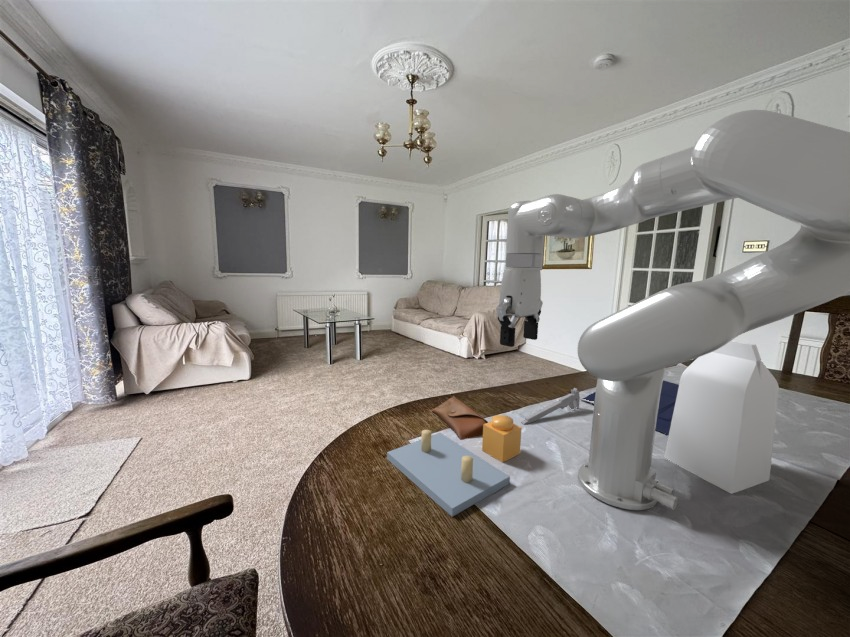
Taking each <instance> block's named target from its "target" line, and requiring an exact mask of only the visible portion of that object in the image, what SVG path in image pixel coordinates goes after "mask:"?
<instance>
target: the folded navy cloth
mask: <svg viewBox="0 0 850 637" xmlns="http://www.w3.org/2000/svg"><path fill="white" fill-rule="evenodd" d="M678 388H679V384H677V383H674V382H672V381H667V380H665V379H663V383H662V388H661V394H660V401H659V408H658V413H657V421H656V429H655V431H658V432H661V433H662V434H665V435H667V436H669V431H670V426H671V422H672V417H673V412H674V407H675V402H676V398H677V393H678ZM595 393H596V391H594V392H593V393H591V394H588V395H587V396H585V397H583V398H582V399H586V400H589V401H595Z"/></svg>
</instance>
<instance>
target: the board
mask: <svg viewBox="0 0 850 637" xmlns="http://www.w3.org/2000/svg"><path fill="white" fill-rule="evenodd" d="M386 459H387V460H388V461H389V462H390V463H391V464H392V466H395V468H396V469H398V470H399V471H400V472H401V473H402V474H403V475H404V476H405V477H407V478H408V479H409V480H410V481H411V482H413V483H414V485H416V486H417V487H418V488H419V490H421V491H423V492H424V493H425V494H426V495H427V496H428V497H429V498H430V499H432V500H433V501H434V502H435V503H436V504H437V506H439V507H440V508H441V509H442V510H444V511H445V512H446V513H447V514H448V515H449V516H450V517H454V516H456V515H458V514H460V513H461V512H464V510H466V509H469V508H470V507H471V506H473V505H476V504H477V503H479V502H480V501H482V500H484V499H486V498H487V497H490V496H491V495H493V494H494V493H496V492H498V491H500V490H502V489H503V488H505V487H506V486H508V485H509V484H510V482H511V481H510V479H511V478H510V477H511V476H510V475H508V474H507V473H505V472H503V471H502V470H500V468H497V467H496V466H494V465H493V464H491V463H489V462H488V461H486V460H485V459H484V458H482V457H480V456H478V455H477V454H475V453H473V452H472V451H470V450H469V449H467V448H466V447H463V445H460V444H459V443H458V442H456V441H454V440H453V439H451V438H450V437H448V436H446V435H444V434H443V433H441V432H438V433H435V434H433V435H432V430H430V429H423V430H421V439H419V440H416V441H414V442H411V443H409V444H405V445H403V446H401V447H398V448H395V449H392V450H390V451H387V452H386Z"/></svg>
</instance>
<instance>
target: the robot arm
mask: <svg viewBox="0 0 850 637" xmlns="http://www.w3.org/2000/svg"><path fill="white" fill-rule="evenodd" d="M734 199H740V200H742V201H745V202H747V203H750V204H752V205H754V206H756V207H759V208H761V209H763V210H766V211H768V212H770V213H773V214H775V215H777V216H780V217H782V218H785V219H786V220H789V221H791V222H794V223H796V224H798V225H800V228H799V230H798V231H797V233H796V234H794V235H793V236H792V237H791V238H790V239H789V240H787V241H785V242H784V243H781V244H780V245H777V246H776V247H774V248H772V249H770V250H767V251H764V252H763V253H760V254H758V255H755V256H754V257H751V258H750V259H747V260H746V261H744V262H743V263H740V264H739V265H736V266H734V267H731V268H729V269H727V270H724V271H723V272H720V273H718V274H716V275H712V276H711V277H708V278H705V279H702V280H698V281H696V280H695V281H691V282H685V283H684V282H682V283H680V284H679V283H678V284H675V285H672V286H669V287H667V288H665V289H662V290H660V291H657V292H655V293H654V294H653V293H652V294H651V295H649V296H647V297H645V298H643V299H641V300H639V301H637V302H635V303H632V304H630V305H628V306H626V307H624V308H622V309H620V310H618V311H616V312H614V313H612V314H610V315H607V316H606V317H603V318H601V319H599V320H598V321H595V322H593V323H592V324H591V325H589V326H587V328H586V329H585V330H584V331H583V332H582V333H581V336H580V337H579V339H578V342H577V357H578V360H579V363H580V364H581V366H582V367H583V369H584V370H585V371H586V372H588V374H590V375H591V376H593V377H595V378H597V382H596V386H595V392H596V393H595V401H594V405H593V410H592V411H593V412H592V423H591V424H592V425H591V433H590V444H589V452H588V453H589V454H588V455H589V456H588V462H586V463H583V464H582V465H581V466H580V467H579V468H578V474H577V479H578V482H579V483H580V485H581V486H582V488H583V490H585V491H586V492H587V493H589V494H590V495H591V496H593V497H594V498H596V499H597V500H599V501H601V502H603V503H605V504H608V505H610V506H613V507H616V508H620V509H625V510H631V511H643V510H648V509H651V508H653V507H654V506H655V505H656V504H657V503H660V504H661V505H663V506H665V507H666V508H668V509H671V510H673V511H674V510H676V507H677V506H678V505H677V504H678V497H677V496H674V492H675V491H674V489H673V488H671V487H670V486H667V485H664V484H661V483H659V481H658V480H656V475H657V474H656V473H657V471H655V470H653V469H651V466H652V459H653V458H652V457H653V451H654V450H653V449H654V442H655V434H656V430H655V429H656V421H657V413H658V408H659V401H660V394H661V388H662V383H663V380H664V378H665V375H666V374H665V373H666V369H667V368H670V367H673V366H677V365H679V364H682V363H686V362H689V361H692V360H696V359H697V358H698V357H700V356H703V355H706V354H708V353H711V352H713V351H715V350H717V349H719V348H721V347H723V346H724V345H726V344H727V343H728V342H730V341H731V340H733V341H734V339H735V338H737V337H739V336H741V335H742V334H745V333H747V332H750V331H753V330H755V329H758V328H761V327H764V326H766V325H769V324H772V323H775V322H778V321H781V320H783V319H786V318H789V317H791V316H793V315H794V316H795V315H796V314H799V313H802V312H805V311H807V310H810V309H813V308H815V307H817V306H820V305H822V304H826V303H828V302H830V301H832V300H835V299H836V298H839V297H842V296H844V295H846V294H848V293H850V131H846V130H843V129H839V128H835V127H831V126H828V125H824V124H820V123H817V122H814V121H810V120H806V119H803V118H799V117H796V116H792V115H788V114H785V113H780V112H777V111H772V110H768V109H748V110H741V111H738V112H735V113H732V114H729V115H727V116H724V117H723V118H721V119H719V120H718V121H715V122H714V123H713V124H711V125H710V126H708V128H707V129H706V130H705V131H704V132H703V133H702V134H700V136H699V137H698V139H697V140H696V141H695V143H694V146H691V147H688V148H685V149H683V150H680V151H676V152H674V153H672V154H667V155H665V156H663V157H659V158H656V159H653V160H650V161H648V162H645V163H642V164H640V165H638V166H637V167H636V168H635V169H634V170H633V171H632V174H631V175H630V177H629V179H628V180H627V181H626V182H625V183H623V184H622V185H621V186H619V187H617V188H615V189H613V190H610V191H608V192H605V193H601V194H599V195H595V196H592V197H589V198H584V199H581V198H577V197H573V196H569V195H565V194H561V193H560V194H559V193H555V194H554V193H553V194H549V195H545V196H542V197H539V198H537V199H533V200H522V201H516V202H513V203H512V204H511V205H510V206H509V207H508V210H507V229H506V230H507V231H506V244H505V246H506V247H505V248H506V249H505V267H504V268H505V269H503V270H504V271H503V274H502V278H501V283H500V284H501V285H500V291H499V300H498V305H497V306H496V309H495V311H496V314H497V320H498V322H499V323H498V326H499V327H500V332H499V345H500V346H506V347H509V348H513V347H514V346H515V344H516V341H515V340H516V327H514V326H515V324H516V322H517V321H518V319H520V318H525V320H524V321H523V336H522V338H524V339H529V340H533V341H536V340H537V339H538V334H539V333H538V332H539V322H540V315H541V313H542V308H543V303H544V302H543V300H541V297H542V294H541V293H542V279H541V278H542V274H541V271H542V270H543V264H544V263H543V259H544V249H545V248H544V247H545V246H544V245H545V236H546V237H553V238H555V237H556V238H566V239H574V240H575V239H582V238H587V237H592V236H596V235H600V234H604V233H605V234H606V233H609V232H614V231H617V230H621V229H624V228H627V227H630V226H634V225H636V224H640V223H644V222H645V221H647V220H650V219H654V218H658V217H662V216H667V215H671V214H675V213H679V212H683V211H687V210H691V209H696V208H700V207H704V206H709V205H712V204H717V203H722V202H727V201H730V200H734Z"/></svg>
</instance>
